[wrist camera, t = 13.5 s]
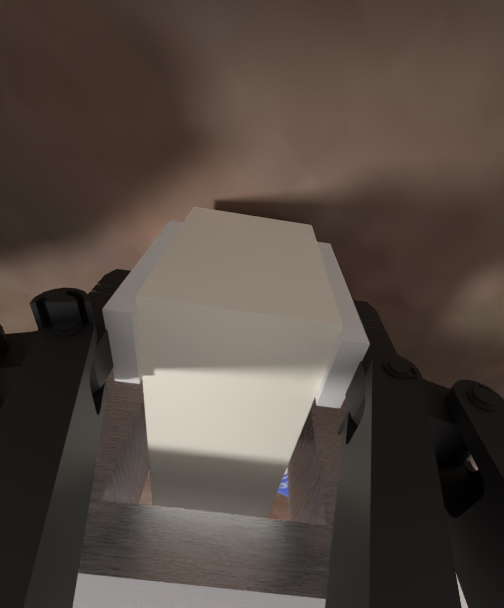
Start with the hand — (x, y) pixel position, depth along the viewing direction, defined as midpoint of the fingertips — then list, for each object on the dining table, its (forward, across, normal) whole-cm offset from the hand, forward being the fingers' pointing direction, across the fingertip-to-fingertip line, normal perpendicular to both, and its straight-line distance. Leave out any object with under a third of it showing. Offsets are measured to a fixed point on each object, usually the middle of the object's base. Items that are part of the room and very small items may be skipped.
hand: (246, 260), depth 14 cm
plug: (+1, 0, -8) cm, 8 cm away
